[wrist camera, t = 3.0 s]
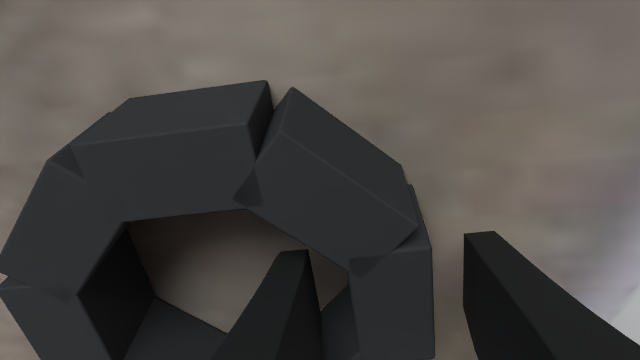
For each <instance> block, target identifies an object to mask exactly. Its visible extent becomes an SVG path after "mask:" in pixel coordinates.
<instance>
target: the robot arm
mask: <svg viewBox="0 0 640 360" xmlns="http://www.w3.org/2000/svg"><path fill="white" fill-rule="evenodd" d="M463 308H464V312H465V315H466V319H467V323H468V327H469V331H470V334H471V338H472V341H473V345H474V349H475V352H476V354H477V357H478V360H640V345H638V344H637V343H635V342H634V341H632V340H631V339H629V338H628V337H626V336H625V335H624V334H622V333H621V332H620V331H618V330H617V329H615V328H614V327H613V326H611V325H610V324H608V323H607V322H606V321H604V320H603V319H601V318H600V317H599V316H597V315H596V314H594V313H593V312H592V311H591V310H589V309H588V308H587V307H585V306H584V305H583V304H581V303H580V302H579V301H578V300H576V299H575V298H574V297H572V296H571V295H570V294H569V293H567V292H566V291H565V290H564V289H562V288H561V287H560V286H559V285H557V284H556V283H555V282H554V281H552V280H551V279H550V278H549V277H548V276H546V275H545V274H544V273H543V272H542V271H540V270H539V269H538V268H537V267H536V266H534V265H533V264H532V263H531V262H530V261H529V260H527V259H526V258H525V257H524V256H523V255H522V254H520V253H519V252H518V251H517V250H516V249H515V248H514V247H512V246H511V245H510V244H509V243H508V242H507V241H505V240H504V239H503V238H502V237H501V236H500V235H498V234H497V233H496V232H495V231H488V232H477V233H467V234H464V273H463ZM209 360H322V317H321V312H320V307H319V302H318V297H317V292H316V287H315V281H314V276H313V271H312V266H311V261H310V256H309V251H308V249H304V250H294V251H284V252H280V253H279V254H278V255H277V257H276V258H275V260H274V262H273V264H272V265H271V267H270V269H269V271H268V272H267V274H266V276H265V278H264V279H263V281H262V283H261V284H260V286H259V288H258V289H257V291H256V292H255V294H254V296H253V297H252V299H251V300H250V302H249V303H248V305H247V306H246V308H245V310H244V311H243V313H242V314H241V316H240V317H239V319H238V320H237V322H236V323H235V325H234V326H233V328H232V329H231V330H230V332H229V333H228V335H227V336H226V337H225V339H224V340H223V341H222V343H221V344H220V346H219V347H218V348H217V350H216V351H215V352H214V354H213V355H212V356H211V358H210V359H209Z"/></svg>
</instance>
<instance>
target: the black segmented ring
mask: <svg viewBox="0 0 640 360" xmlns="http://www.w3.org/2000/svg"><path fill="white" fill-rule="evenodd" d="M241 209H247V210H249V211H250V212H252V213H254V214H255V215H257V216H259V217H260V218H262V219H263V220H265V221H267V222H268V223H270V224H272V225H273V226H275V227H276V228H278V229H280V230H281V231H283V232H285V233H286V234H288V235H290V236H291V237H293V238H294V239H296V240H298V241H299V242H301V243H303V244H304V245H306V246H307V247H309V248H311V249H312V250H314V251H316V252H317V253H319V254H320V255H322V256H324V257H325V258H327V259H329V260H330V261H332V262H334V263H335V264H337V265H338V266H340V267H342V268H343V269H345V270H347V275H348V282H349V285H348V286H347V287H346V288H345V289H344V290H343V291H342V292H340V293H339V294H338V295H337V296H336V297H335V298H334V299H333V300H332V301H331V302H330V303H329V304H328V305H327V306H326V307H325V308H324V309H323V310H322V311H321V317H322V360H425V359H433V358H434V357H435V335H434V302H433V269H432V247H431V244H430V240H429V237H428V234H427V231H426V228H425V224H424V221H423V218H422V215H421V212H420V208H419V205H418V202H417V199H416V196H415V192H414V189H413V186H412V185H410V184H408V185H407V183H406V180H405V176H404V173H403V169H402V166H401V165H400V164H399V163H398V162H396V161H395V160H393V159H392V158H391V157H389V156H388V155H387V154H385V153H384V152H382V151H381V150H380V149H378V148H377V147H375V146H374V145H373V144H371V143H370V142H369V141H367V140H366V139H364V138H363V137H362V136H360V135H359V134H358V133H356V132H355V131H353V130H352V129H351V128H349V127H348V126H347V125H345V124H344V123H342V122H341V121H340V120H338V119H337V118H336V117H334V116H333V115H331V114H330V113H329V112H327V111H326V110H324V109H323V108H322V107H320V106H319V105H318V104H316V103H315V102H313V101H312V100H311V99H309V98H308V97H307V96H305V95H304V94H302V93H301V92H300V91H298V90H297V89H296V88H294V87H292V88H290V90H289V91H288V92H287V94H286V95H285V96H284V98H283V99H282V101H281V102H280V103H279V105H278V106H277V107H276V109H275V110H274V111H273V106H272V101H271V96H270V91H269V86H268V82H267V81H266V80H262V81H254V82H247V83H240V84H232V85H225V86H217V87H210V88H203V89H195V90H188V91H181V92H173V93H166V94H159V95H151V96H144V97H136V98H129V99H128V100H127V101H125V102H124V103H123V104H121V105H120V106H119V107H118V108H116V109H115V110H114V111H113V112H109V113H107V114H106V115H105V116H103V117H102V118H101V119H99V120H98V121H97V122H95V123H94V124H93V125H92V126H90V127H89V128H88V129H86V130H85V131H84V132H83V133H81V134H80V135H79V136H77V137H76V138H75V139H74V140H72V141H71V142H70V143H68V144H67V145H66V146H65V147H63V148H62V149H61V150H59V151H58V152H57V153H56V154H54V155H53V156H52V157H50V158H49V159H48V160H47V161H46V163H45V165H44V167H43V169H42V171H41V173H40V175H39V177H38V179H37V181H36V183H35V185H34V187H33V189H32V191H31V193H30V195H29V197H28V199H27V201H26V203H25V205H24V207H23V209H22V211H21V213H20V215H19V217H18V219H17V221H16V224H15V226H14V228H13V230H12V232H11V234H10V236H9V238H8V240H7V242H6V244H5V246H4V248H3V250H2V252H1V254H0V272H1V273H3V274H5V275H7V276H8V277H7V278H6V279H5V280H4V281H3V282H2V283H1V284H0V297H1V299H2V300H3V302H4V303H5V305H6V306H7V308H8V310H9V311H10V313H11V314H12V316H13V317H14V319H15V320H16V322H17V323H18V325H19V327H20V328H21V330H22V331H23V333H24V334H25V336H26V337H27V339H28V340H29V342H30V344H31V345H32V347H33V348H34V350H35V351H36V353H37V354H38V356H39V357H40V359H41V360H209V359H210V358H211V356H212V355H213V354H214V352H215V351H216V350H217V348H218V347H219V346H220V344H221V343H222V341H223V340H224V339H225V337H226V336H227V335H228V333H224V332H222V331H220V330H218V329H216V328H214V327H212V326H210V325H209V324H207V323H205V322H203V321H201V320H199V319H197V318H195V317H193V316H191V315H189V314H187V313H185V312H183V311H181V310H180V309H178V308H176V307H174V306H172V305H170V304H168V303H166V302H164V301H162V300H160V299H158V298H156V297H155V295H154V293H153V291H152V288H151V286H150V284H149V281H148V279H147V277H146V274H145V272H144V270H143V267H142V265H141V263H140V260H139V258H138V256H137V253H136V251H135V249H134V246H133V244H132V242H131V239H130V237H129V235H128V232H127V230H126V228H127V226H128V225H129V223H130V222H131V221H139V220H148V219H158V218H167V217H176V216H185V215H195V214H204V213H213V212H222V211H232V210H241Z"/></svg>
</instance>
